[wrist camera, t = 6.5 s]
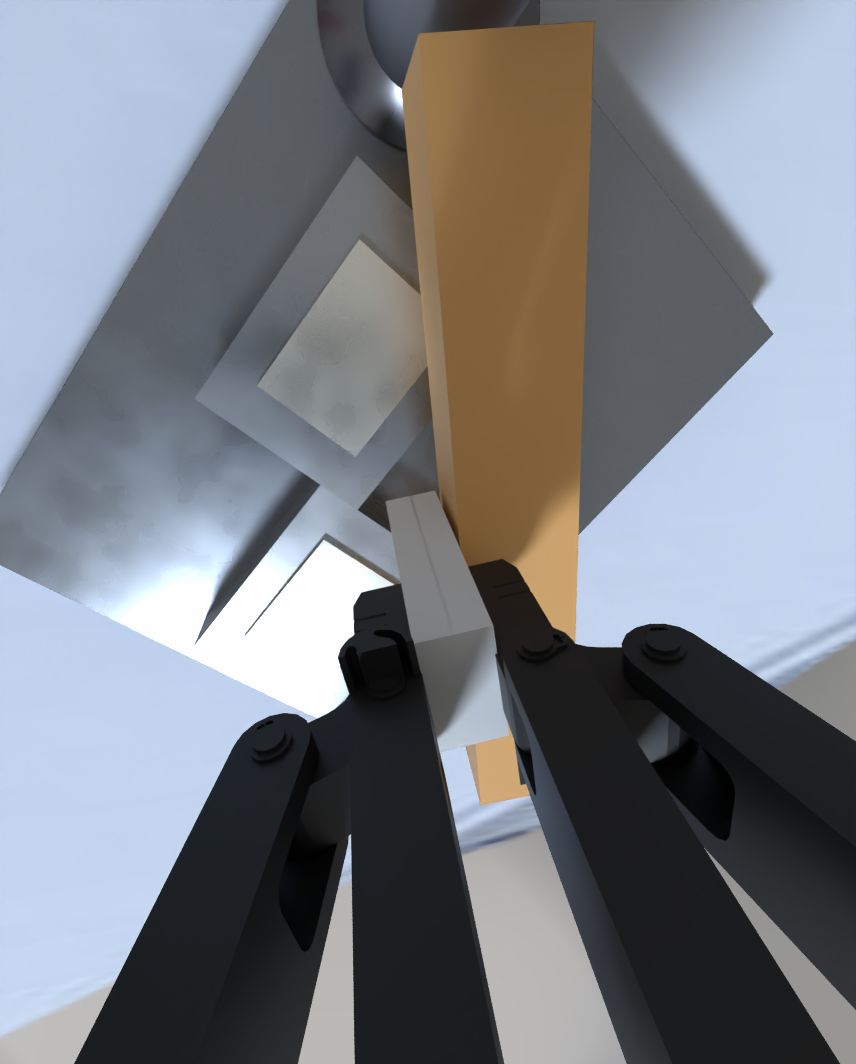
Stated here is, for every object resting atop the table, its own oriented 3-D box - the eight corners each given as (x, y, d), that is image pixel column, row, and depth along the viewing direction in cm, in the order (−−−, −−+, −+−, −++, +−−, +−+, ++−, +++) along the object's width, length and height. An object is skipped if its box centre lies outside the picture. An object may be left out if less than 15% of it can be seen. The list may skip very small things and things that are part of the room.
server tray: (371, 715, 27) (376, 784, 24) (0, 525, 21) (-77, 581, 17) (757, 308, 21) (846, 315, 17) (405, -153, 14) (427, -305, 11)
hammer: (334, -100, 13) (310, -900, 4) (511, -109, 13) (835, -862, 4) (428, 666, 23) (478, 900, 15) (526, 649, 24) (632, 868, 15)
